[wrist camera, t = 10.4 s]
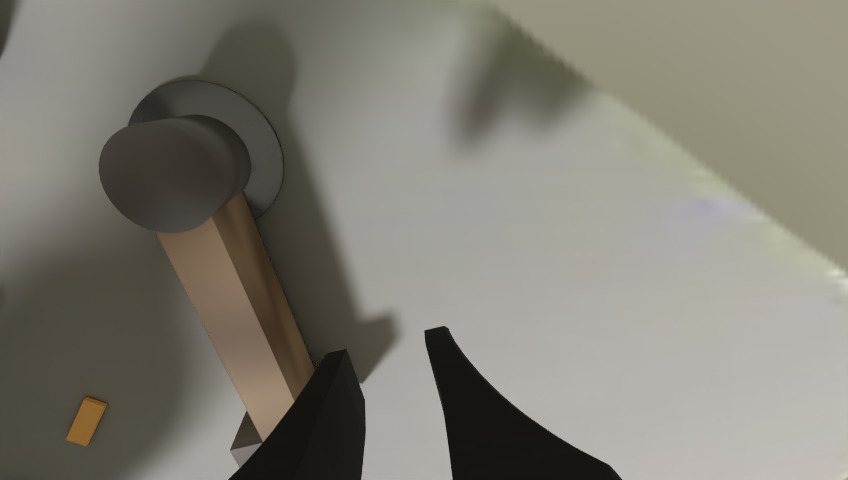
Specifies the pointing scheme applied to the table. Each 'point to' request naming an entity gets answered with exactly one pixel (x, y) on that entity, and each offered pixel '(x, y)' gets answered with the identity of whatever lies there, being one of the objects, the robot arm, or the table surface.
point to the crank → (214, 255)
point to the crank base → (237, 116)
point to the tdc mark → (86, 421)
